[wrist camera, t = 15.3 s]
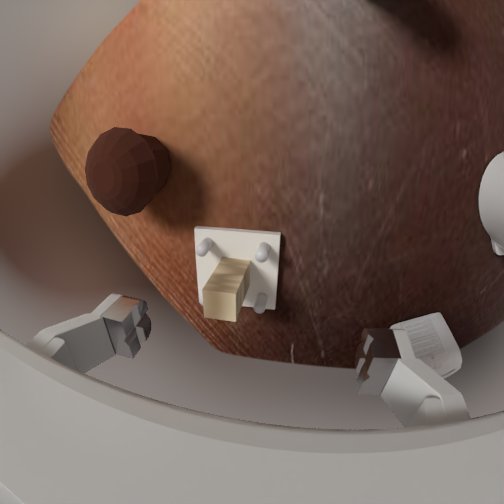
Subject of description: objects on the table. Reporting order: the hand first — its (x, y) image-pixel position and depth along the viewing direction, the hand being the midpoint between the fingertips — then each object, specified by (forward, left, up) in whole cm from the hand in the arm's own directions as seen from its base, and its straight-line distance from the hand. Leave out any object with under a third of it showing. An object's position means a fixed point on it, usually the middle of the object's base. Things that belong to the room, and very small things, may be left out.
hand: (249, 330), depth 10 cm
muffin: (+21, -2, -29) cm, 36 cm away
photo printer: (-23, +21, -29) cm, 43 cm away
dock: (+7, +13, -29) cm, 32 cm away
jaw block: (+7, +13, -28) cm, 31 cm away
